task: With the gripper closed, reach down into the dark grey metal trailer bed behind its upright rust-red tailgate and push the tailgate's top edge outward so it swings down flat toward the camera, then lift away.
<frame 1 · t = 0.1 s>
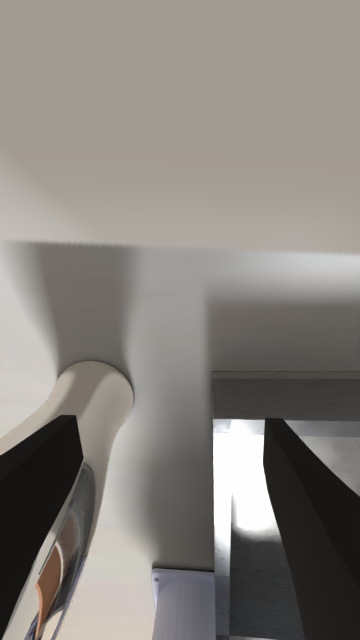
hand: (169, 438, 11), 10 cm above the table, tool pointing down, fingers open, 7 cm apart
trailer bed: (312, 482, 23), on the table
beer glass: (96, 393, 22), on the table, touching gripper
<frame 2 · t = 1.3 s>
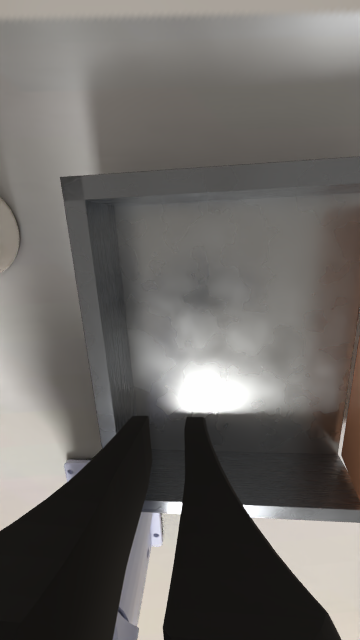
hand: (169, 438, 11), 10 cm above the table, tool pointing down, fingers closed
trailer bed: (228, 337, 20), on the table
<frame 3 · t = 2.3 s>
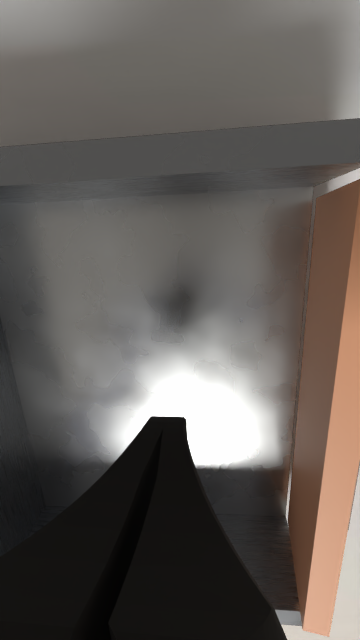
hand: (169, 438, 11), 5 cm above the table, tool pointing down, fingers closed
tailgate: (324, 420, 11), point 4 cm above the table, hinge at -8.0°
trailer bed: (144, 372, 16), on the table
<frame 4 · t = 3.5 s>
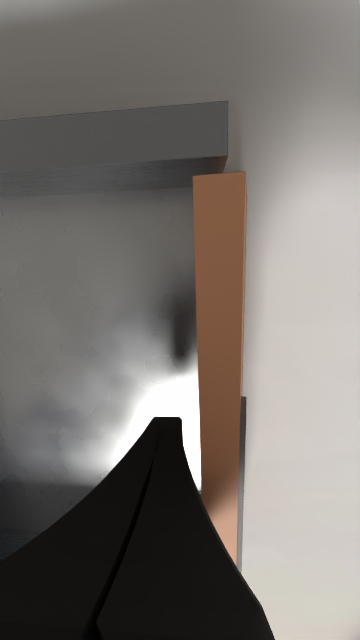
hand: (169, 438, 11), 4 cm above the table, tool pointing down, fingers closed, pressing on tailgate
tailgate: (227, 448, 10), point 4 cm above the table, hinge at -8.0°, touching gripper
trailer bed: (63, 387, 15), on the table
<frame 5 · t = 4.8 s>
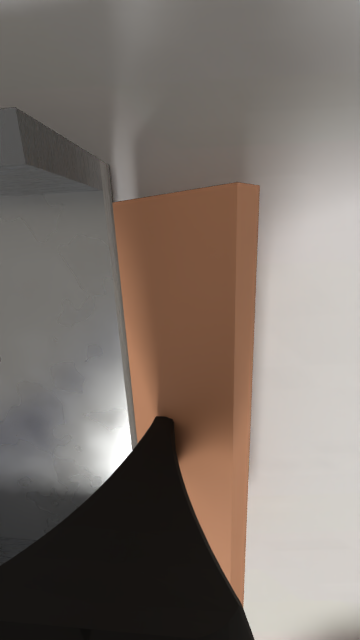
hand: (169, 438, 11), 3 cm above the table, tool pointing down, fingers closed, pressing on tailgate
tailgate: (186, 438, 11), point 3 cm above the table, hinge at 52.9°, touching gripper
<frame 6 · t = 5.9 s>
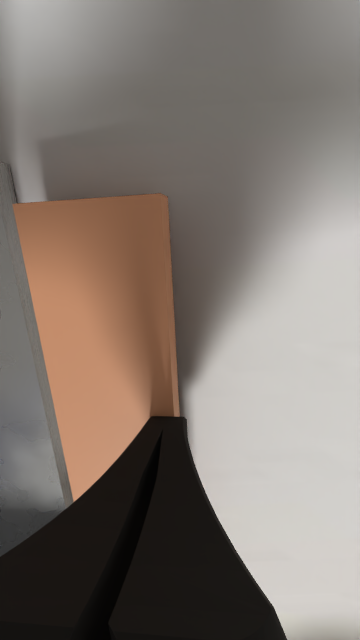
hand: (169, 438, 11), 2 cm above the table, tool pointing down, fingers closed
tailgate: (120, 424, 12), point 1 cm above the table, hinge at 85.4°
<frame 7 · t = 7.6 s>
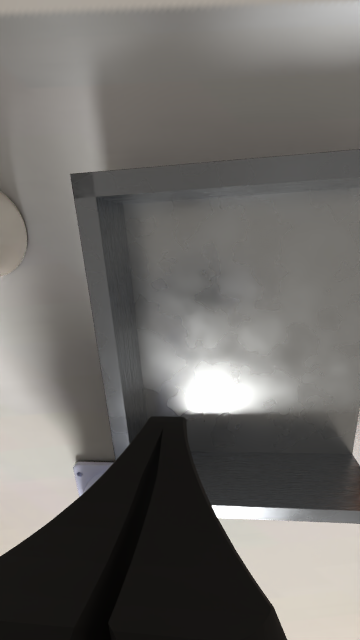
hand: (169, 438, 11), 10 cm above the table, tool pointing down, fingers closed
trailer bed: (240, 336, 20), on the table
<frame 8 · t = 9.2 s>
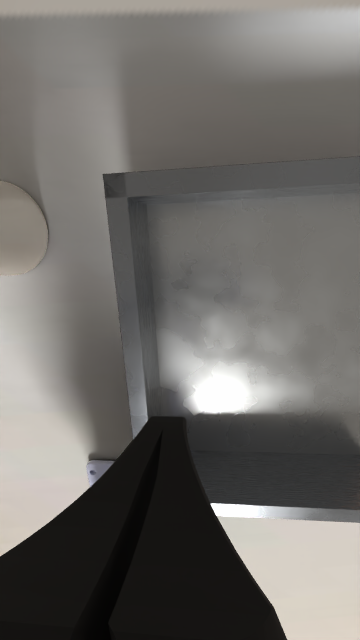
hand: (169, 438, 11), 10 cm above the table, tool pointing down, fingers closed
trailer bed: (257, 337, 20), on the table
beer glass: (7, 230, 20), on the table
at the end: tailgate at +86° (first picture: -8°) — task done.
